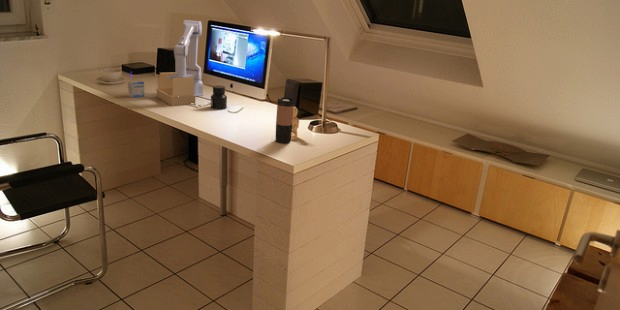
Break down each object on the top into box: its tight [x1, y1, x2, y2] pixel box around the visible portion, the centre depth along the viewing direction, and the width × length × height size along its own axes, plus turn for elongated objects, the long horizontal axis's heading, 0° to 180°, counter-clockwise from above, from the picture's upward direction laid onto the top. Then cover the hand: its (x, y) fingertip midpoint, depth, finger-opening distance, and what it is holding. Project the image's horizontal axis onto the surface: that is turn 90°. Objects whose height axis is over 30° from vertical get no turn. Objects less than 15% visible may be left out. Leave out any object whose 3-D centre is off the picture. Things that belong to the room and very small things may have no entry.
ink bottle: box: [210, 84, 228, 110], centre depth 270 cm, size 10×9×12 cm
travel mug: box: [275, 97, 295, 144], centre depth 222 cm, size 8×8×20 cm
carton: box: [156, 88, 196, 107], centre depth 278 cm, size 14×22×5 cm, turn 38°
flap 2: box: [172, 77, 194, 96], centre depth 267 cm, size 10×12×1 cm
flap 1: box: [157, 71, 176, 89], centre depth 281 cm, size 10×12×1 cm
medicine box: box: [127, 80, 145, 99], centre depth 278 cm, size 8×4×9 cm, turn 143°
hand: (180, 91), depth 270 cm, fingers closed, pressing on flap 2
